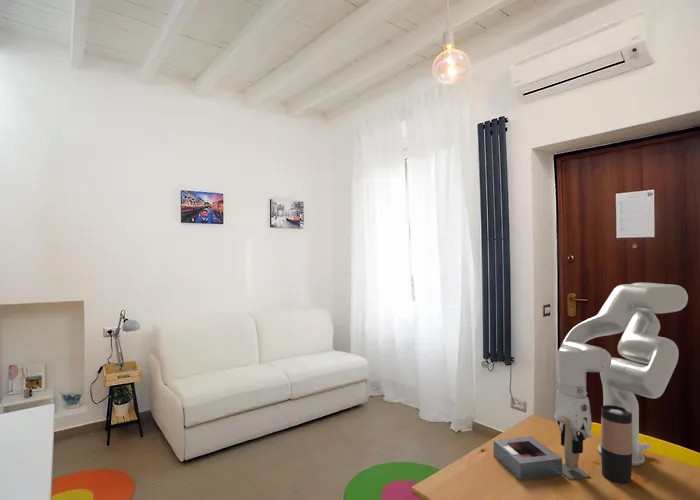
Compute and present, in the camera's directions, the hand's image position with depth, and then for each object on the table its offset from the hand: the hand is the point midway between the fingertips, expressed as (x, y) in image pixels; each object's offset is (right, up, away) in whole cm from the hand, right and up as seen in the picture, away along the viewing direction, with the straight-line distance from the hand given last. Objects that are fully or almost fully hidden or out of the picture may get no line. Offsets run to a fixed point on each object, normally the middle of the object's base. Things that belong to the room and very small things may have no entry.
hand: (571, 448), depth 117 cm
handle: (0, -6, 0) cm, 6 cm away
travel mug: (+12, -7, -3) cm, 14 cm away
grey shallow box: (-12, -7, +4) cm, 15 cm away
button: (-12, -7, +4) cm, 14 cm away
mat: (0, -7, 0) cm, 7 cm away
